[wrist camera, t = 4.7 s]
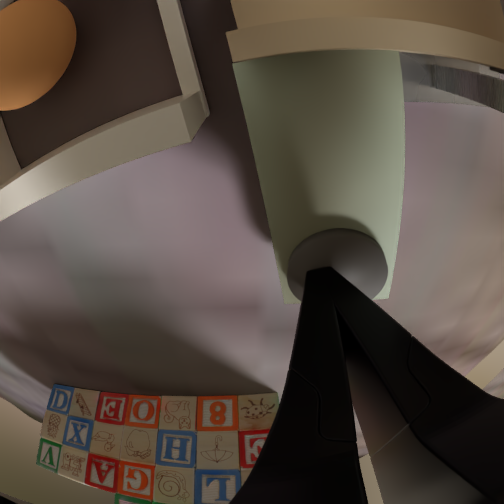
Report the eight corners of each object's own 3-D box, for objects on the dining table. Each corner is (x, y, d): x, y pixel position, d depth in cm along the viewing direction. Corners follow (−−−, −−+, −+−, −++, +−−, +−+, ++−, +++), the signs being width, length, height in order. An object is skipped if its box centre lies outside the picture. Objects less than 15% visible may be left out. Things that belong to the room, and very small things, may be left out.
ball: (-6, 46, 4) (78, -6, 4) (14, 123, 6) (97, 74, 6) (-59, 41, 1) (49, -43, 2) (-40, 146, 3) (68, 66, 4)
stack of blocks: (86, 407, 23) (71, 502, 14) (53, 381, 20) (29, 490, 10) (281, 414, 23) (292, 533, 13) (279, 389, 19) (294, 544, 9)
